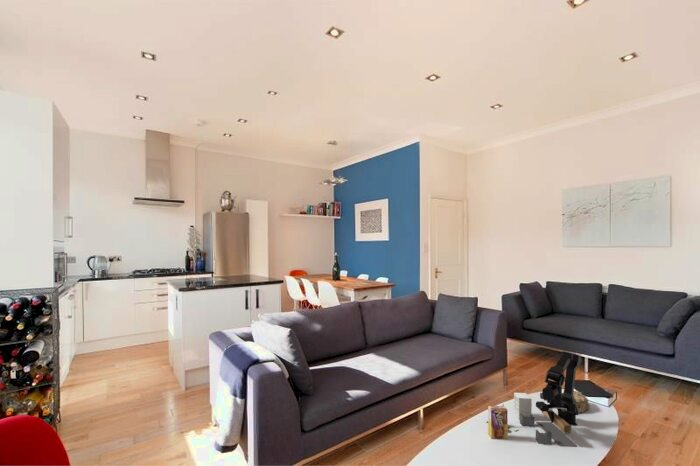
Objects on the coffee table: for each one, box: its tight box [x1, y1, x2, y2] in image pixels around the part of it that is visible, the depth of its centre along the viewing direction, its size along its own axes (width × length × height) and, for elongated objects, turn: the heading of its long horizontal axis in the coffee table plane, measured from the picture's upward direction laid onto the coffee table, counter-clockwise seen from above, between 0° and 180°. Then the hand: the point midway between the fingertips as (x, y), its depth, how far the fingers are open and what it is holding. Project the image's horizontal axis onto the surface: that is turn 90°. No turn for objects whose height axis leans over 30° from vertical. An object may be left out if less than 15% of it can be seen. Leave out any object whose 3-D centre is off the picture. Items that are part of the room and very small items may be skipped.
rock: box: [562, 390, 591, 414], centre depth 208 cm, size 21×14×10 cm
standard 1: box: [519, 414, 536, 428], centre depth 186 cm, size 7×3×6 cm, turn 89°
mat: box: [535, 421, 578, 448], centre depth 178 cm, size 9×22×1 cm, turn 179°
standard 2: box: [535, 429, 553, 445], centre depth 170 cm, size 7×3×6 cm, turn 89°
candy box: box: [487, 405, 509, 440], centre depth 174 cm, size 9×4×15 cm, turn 89°
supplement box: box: [513, 392, 533, 420], centre depth 195 cm, size 7×7×13 cm
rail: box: [541, 409, 572, 434], centre depth 178 cm, size 4×20×4 cm, turn 0°
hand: (555, 422), depth 178 cm, fingers closed on rail, 3 cm apart
